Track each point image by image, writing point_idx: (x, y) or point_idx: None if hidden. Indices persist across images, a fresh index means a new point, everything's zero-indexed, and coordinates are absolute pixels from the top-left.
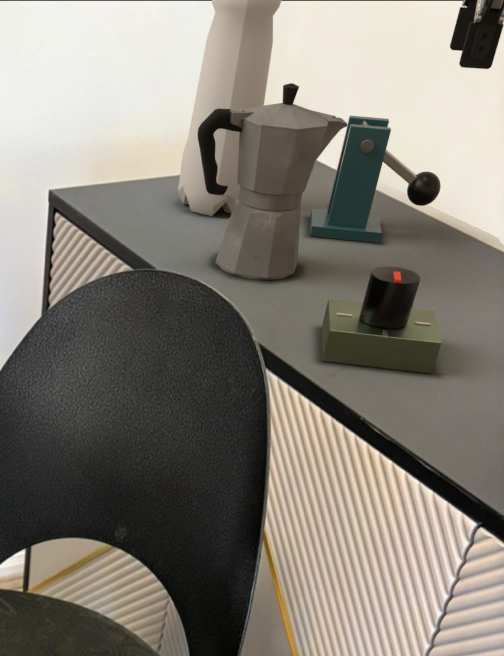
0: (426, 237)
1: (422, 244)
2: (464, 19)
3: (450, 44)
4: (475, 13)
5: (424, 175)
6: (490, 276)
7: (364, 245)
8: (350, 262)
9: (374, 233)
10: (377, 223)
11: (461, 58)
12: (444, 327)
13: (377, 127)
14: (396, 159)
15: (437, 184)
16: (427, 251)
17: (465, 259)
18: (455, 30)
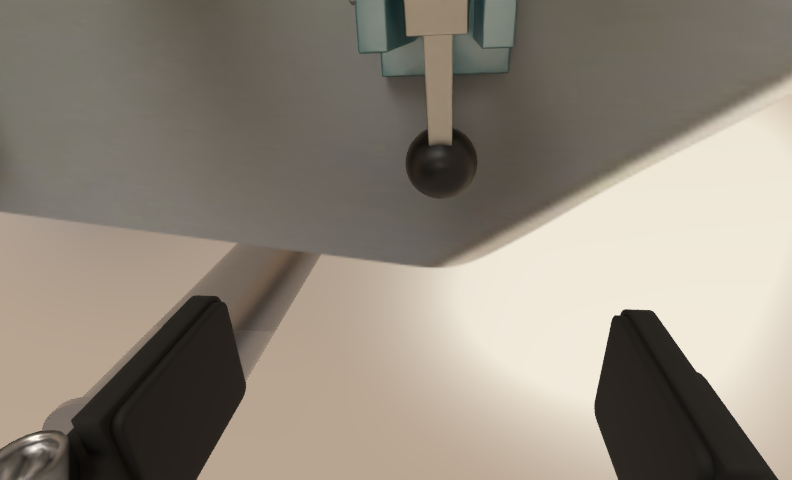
0: None
1: None
2: (665, 439)
3: (646, 315)
4: (53, 476)
5: (424, 163)
6: (293, 248)
7: None
8: (252, 14)
9: (382, 61)
10: None
11: (180, 309)
12: (55, 163)
13: (369, 2)
14: (434, 90)
15: (419, 190)
16: (374, 164)
17: (357, 221)
18: (660, 365)
